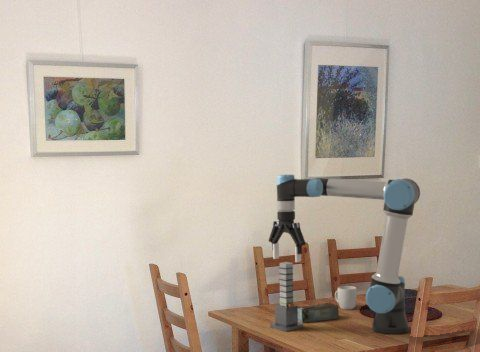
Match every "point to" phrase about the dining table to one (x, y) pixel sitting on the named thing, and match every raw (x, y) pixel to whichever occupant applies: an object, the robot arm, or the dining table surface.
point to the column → (286, 284)
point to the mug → (346, 297)
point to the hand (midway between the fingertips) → (287, 260)
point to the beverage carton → (317, 312)
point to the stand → (286, 318)
